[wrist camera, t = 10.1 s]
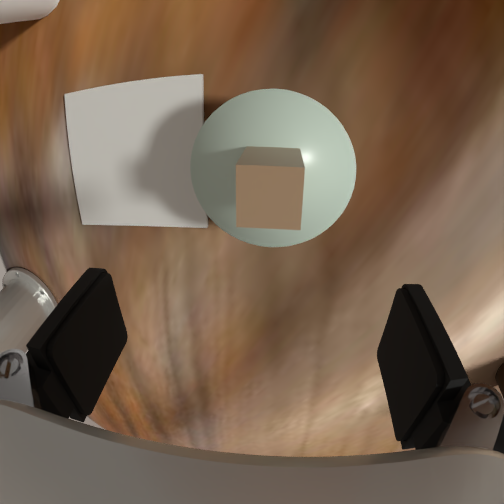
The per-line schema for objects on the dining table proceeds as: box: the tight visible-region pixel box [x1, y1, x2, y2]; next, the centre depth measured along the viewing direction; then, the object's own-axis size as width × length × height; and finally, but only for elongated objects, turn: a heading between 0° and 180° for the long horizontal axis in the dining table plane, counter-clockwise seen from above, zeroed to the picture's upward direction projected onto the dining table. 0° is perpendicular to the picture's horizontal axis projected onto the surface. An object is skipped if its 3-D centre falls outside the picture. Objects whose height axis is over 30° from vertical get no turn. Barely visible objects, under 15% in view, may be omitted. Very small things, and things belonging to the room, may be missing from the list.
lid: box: [190, 89, 356, 247], centre depth 22 cm, size 13×13×7 cm
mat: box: [65, 74, 208, 228], centre depth 31 cm, size 16×16×1 cm
